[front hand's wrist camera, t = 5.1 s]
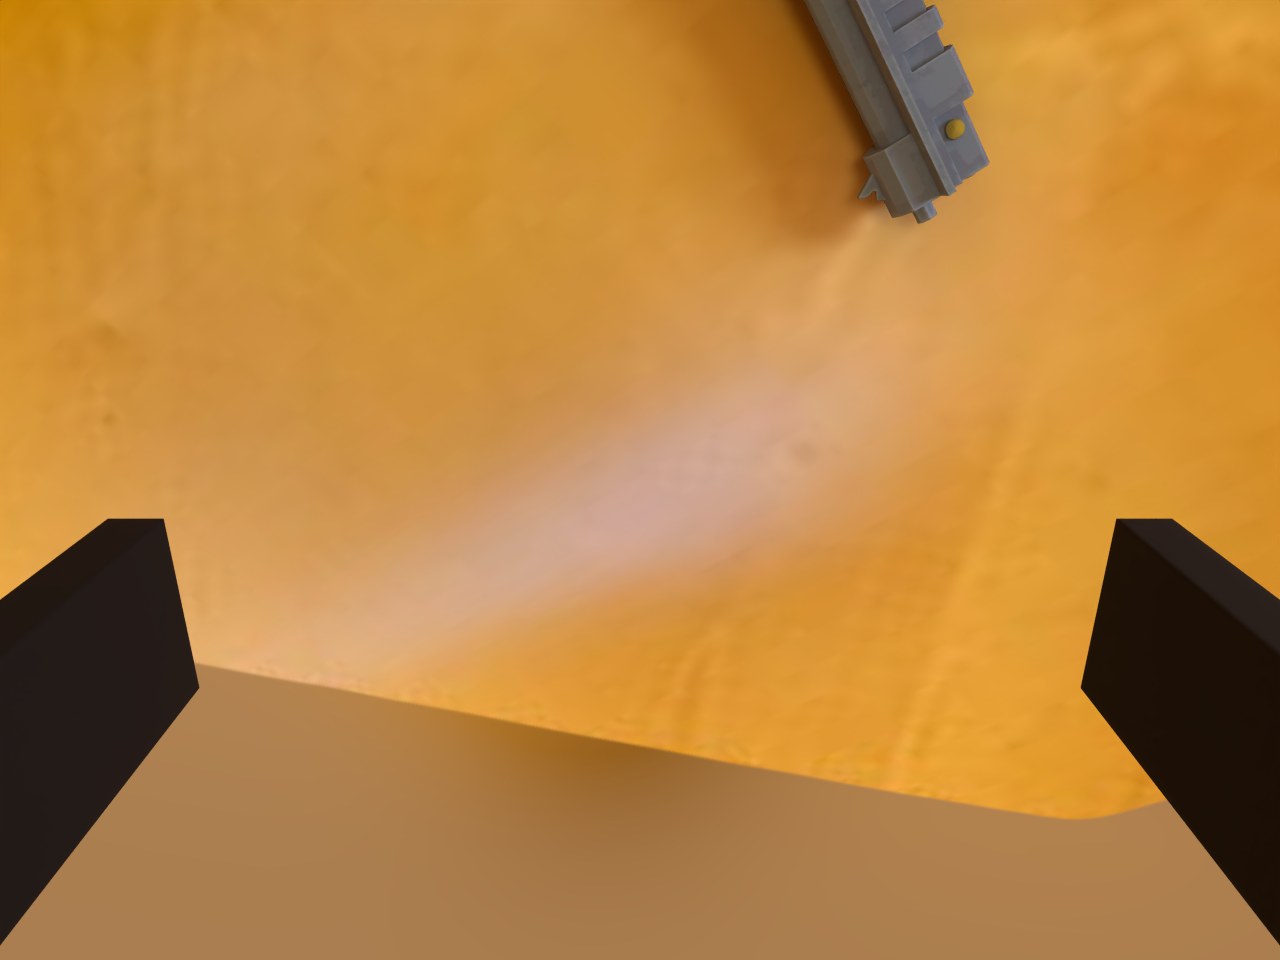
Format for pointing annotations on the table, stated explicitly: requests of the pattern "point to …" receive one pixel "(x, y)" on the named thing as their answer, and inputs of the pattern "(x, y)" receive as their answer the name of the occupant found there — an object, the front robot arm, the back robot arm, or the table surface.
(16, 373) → the table surface
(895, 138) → the toy gun
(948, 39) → the table surface
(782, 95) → the table surface
